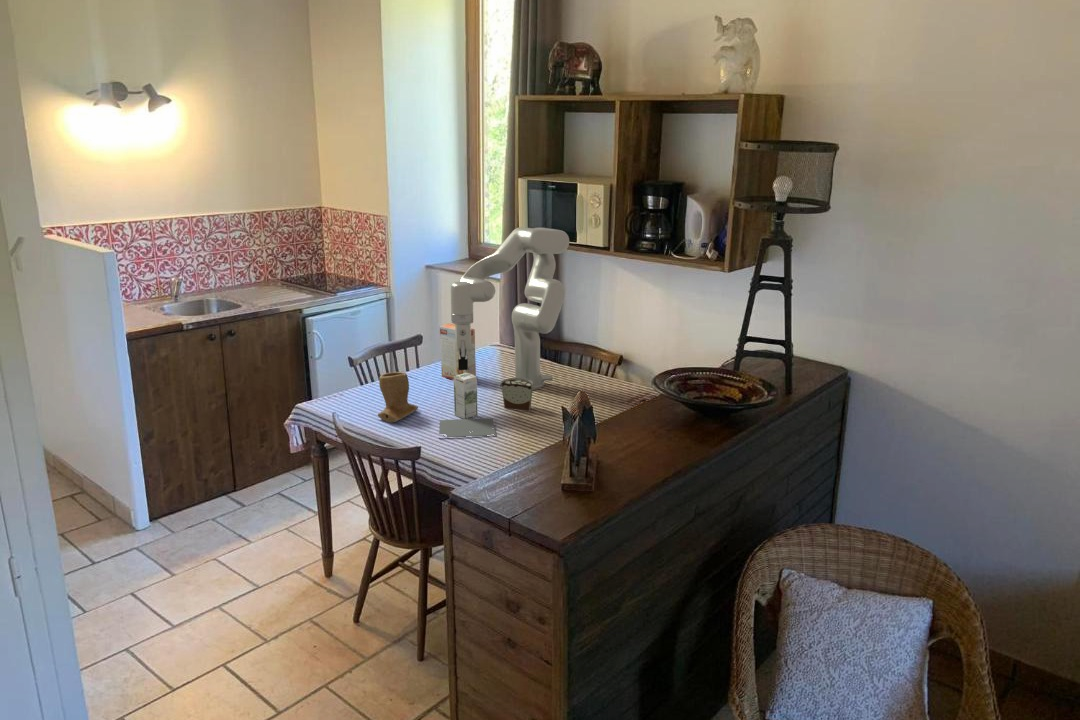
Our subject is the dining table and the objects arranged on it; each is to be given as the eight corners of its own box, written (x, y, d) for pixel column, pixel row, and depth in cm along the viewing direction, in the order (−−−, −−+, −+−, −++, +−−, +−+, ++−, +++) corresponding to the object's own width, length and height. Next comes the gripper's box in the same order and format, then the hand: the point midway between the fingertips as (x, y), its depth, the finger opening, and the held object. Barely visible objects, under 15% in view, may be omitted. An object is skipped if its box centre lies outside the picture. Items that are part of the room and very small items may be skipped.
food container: (539, 406, 280) (539, 379, 277) (533, 412, 274) (533, 384, 271) (506, 402, 283) (506, 375, 280) (500, 408, 278) (499, 381, 275)
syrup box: (467, 411, 275) (466, 371, 270) (478, 415, 271) (477, 375, 266) (454, 415, 271) (452, 375, 267) (465, 420, 267) (463, 379, 263)
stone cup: (394, 406, 280) (391, 365, 276) (422, 410, 276) (420, 370, 271) (368, 420, 267) (365, 378, 263) (397, 425, 262) (395, 383, 258)
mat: (493, 419, 268) (493, 417, 268) (495, 436, 253) (495, 434, 253) (439, 421, 266) (439, 420, 266) (439, 439, 252) (439, 437, 251)
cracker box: (477, 380, 306) (475, 328, 300) (465, 384, 302) (463, 331, 296) (452, 373, 315) (450, 322, 309) (441, 376, 311) (438, 325, 305)
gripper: (473, 323, 263) (474, 375, 268) (472, 313, 277) (473, 363, 283) (451, 323, 262) (452, 376, 267) (451, 313, 277) (452, 363, 282)
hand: (463, 369), depth 275 cm, fingers closed
